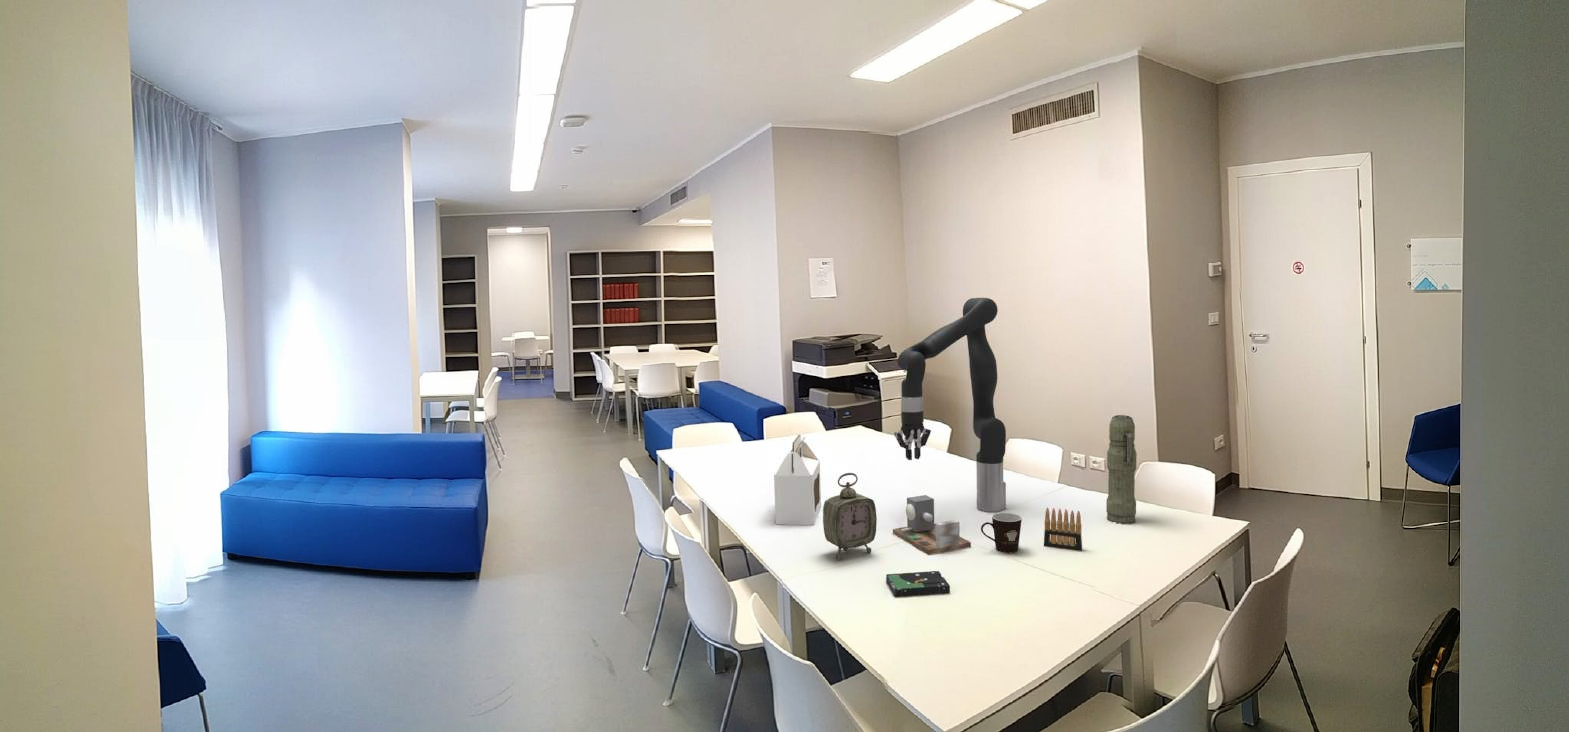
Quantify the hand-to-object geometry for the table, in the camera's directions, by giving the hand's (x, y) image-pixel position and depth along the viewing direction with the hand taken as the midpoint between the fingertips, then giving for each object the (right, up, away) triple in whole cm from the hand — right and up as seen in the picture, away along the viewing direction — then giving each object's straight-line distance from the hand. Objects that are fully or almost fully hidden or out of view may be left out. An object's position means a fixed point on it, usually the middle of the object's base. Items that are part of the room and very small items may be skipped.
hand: (913, 458), depth 247 cm
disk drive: (-9, -28, -55) cm, 62 cm away
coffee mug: (+21, -24, -29) cm, 43 cm away
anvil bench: (+2, -23, -19) cm, 30 cm away
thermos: (+68, -20, -7) cm, 71 cm away
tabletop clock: (-25, -25, -29) cm, 45 cm away
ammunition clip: (+40, -23, -30) cm, 55 cm away
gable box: (-39, -22, +11) cm, 46 cm away
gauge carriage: (-1, -21, -16) cm, 27 cm away
